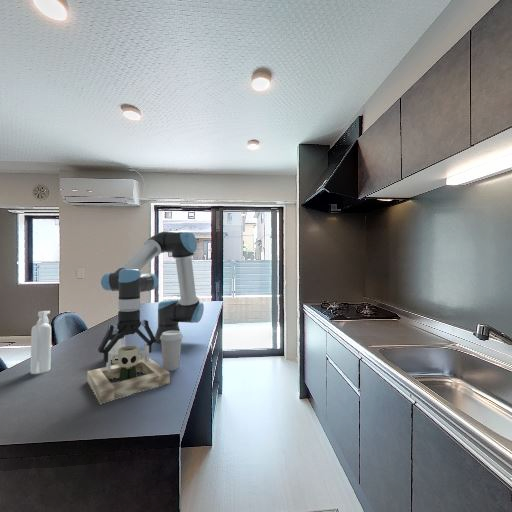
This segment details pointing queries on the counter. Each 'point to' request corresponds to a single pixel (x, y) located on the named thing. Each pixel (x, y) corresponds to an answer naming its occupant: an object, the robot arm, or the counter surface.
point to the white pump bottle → (41, 344)
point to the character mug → (128, 361)
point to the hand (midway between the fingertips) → (128, 366)
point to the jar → (118, 344)
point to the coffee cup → (171, 349)
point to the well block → (109, 391)
